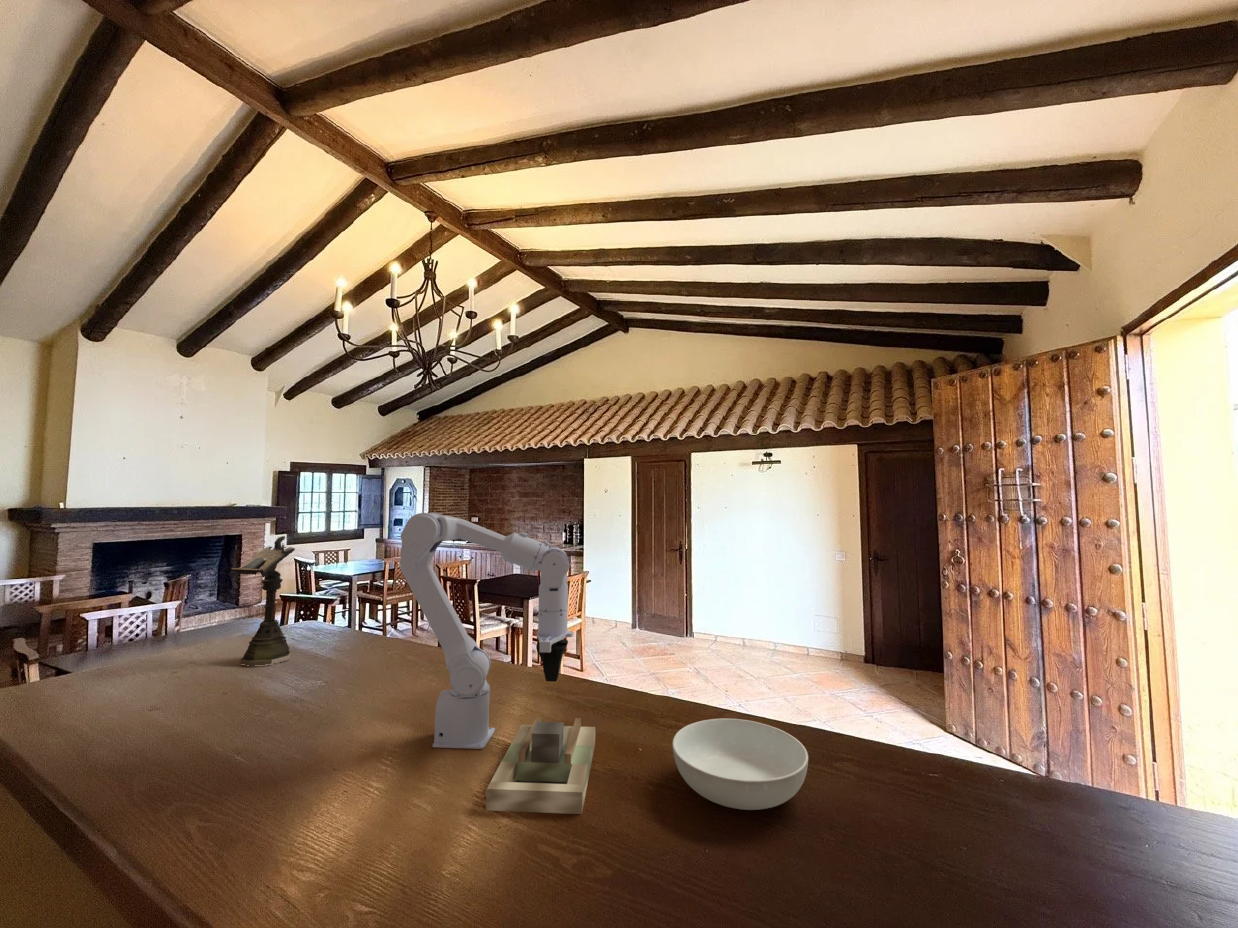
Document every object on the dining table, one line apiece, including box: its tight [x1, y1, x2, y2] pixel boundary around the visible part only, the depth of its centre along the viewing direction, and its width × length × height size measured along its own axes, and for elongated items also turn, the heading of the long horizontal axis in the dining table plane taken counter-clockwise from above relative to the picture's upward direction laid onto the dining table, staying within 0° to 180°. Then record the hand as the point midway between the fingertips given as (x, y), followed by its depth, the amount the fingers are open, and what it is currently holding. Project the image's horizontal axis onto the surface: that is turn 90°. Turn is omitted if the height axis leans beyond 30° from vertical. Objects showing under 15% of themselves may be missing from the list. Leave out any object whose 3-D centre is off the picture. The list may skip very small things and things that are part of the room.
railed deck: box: [485, 716, 596, 815], centre depth 85 cm, size 14×22×4 cm, turn 178°
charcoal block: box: [531, 721, 565, 763], centre depth 85 cm, size 4×4×4 cm
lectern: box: [229, 535, 296, 666], centre depth 142 cm, size 17×13×35 cm
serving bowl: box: [671, 717, 809, 811], centre depth 81 cm, size 21×21×7 cm
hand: (551, 680), depth 100 cm, fingers closed
